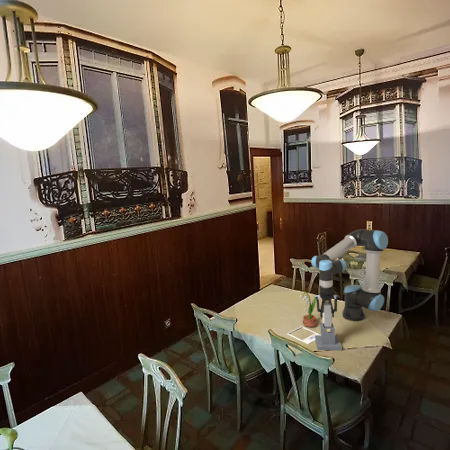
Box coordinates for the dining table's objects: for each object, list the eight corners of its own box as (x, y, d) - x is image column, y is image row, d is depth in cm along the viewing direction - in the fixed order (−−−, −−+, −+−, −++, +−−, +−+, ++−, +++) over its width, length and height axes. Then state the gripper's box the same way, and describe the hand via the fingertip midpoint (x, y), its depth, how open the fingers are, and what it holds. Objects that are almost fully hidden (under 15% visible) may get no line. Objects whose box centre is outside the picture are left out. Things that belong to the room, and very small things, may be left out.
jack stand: (337, 338, 205) (337, 320, 203) (342, 350, 191) (341, 331, 189) (315, 338, 207) (314, 320, 205) (317, 350, 193) (317, 331, 192)
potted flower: (304, 330, 219) (303, 295, 215) (297, 323, 228) (296, 290, 224) (320, 326, 222) (319, 292, 218) (312, 320, 231) (311, 287, 227)
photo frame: (308, 343, 200) (287, 333, 215) (308, 345, 201) (287, 334, 215) (323, 335, 209) (301, 326, 223) (323, 336, 209) (301, 327, 223)
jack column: (330, 338, 201) (329, 301, 197) (331, 342, 196) (330, 303, 193) (323, 338, 201) (322, 301, 197) (325, 342, 197) (323, 303, 193)
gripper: (339, 283, 196) (340, 319, 199) (311, 284, 198) (312, 319, 202) (342, 287, 188) (343, 324, 192) (312, 288, 191) (313, 325, 195)
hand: (327, 322), depth 197 cm, fingers closed on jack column, 4 cm apart
